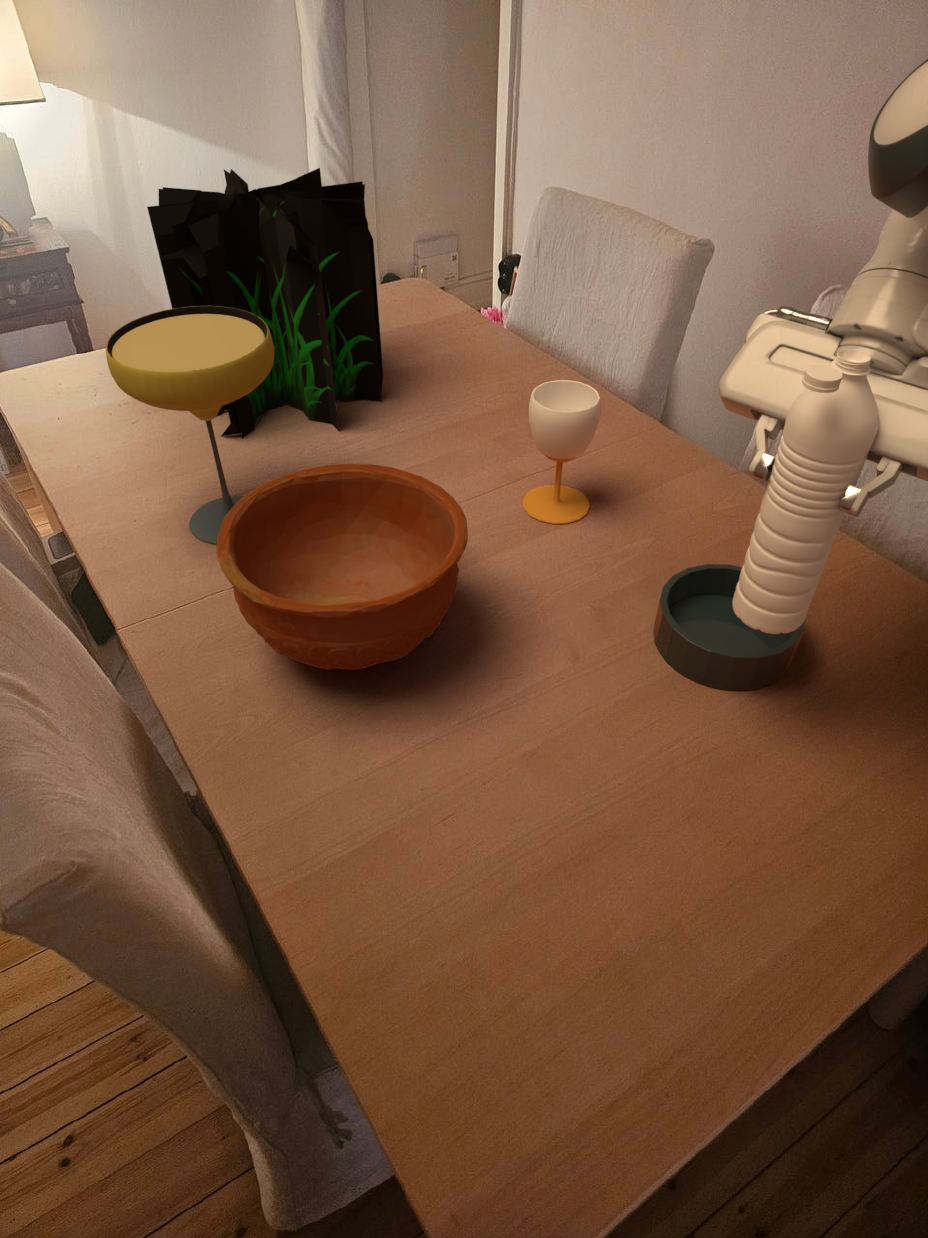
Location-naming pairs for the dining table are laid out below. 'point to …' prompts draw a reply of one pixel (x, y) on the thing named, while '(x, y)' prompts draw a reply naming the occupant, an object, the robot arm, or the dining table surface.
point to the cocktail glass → (193, 374)
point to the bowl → (344, 562)
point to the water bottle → (807, 493)
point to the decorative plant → (282, 285)
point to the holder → (717, 633)
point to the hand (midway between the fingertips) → (801, 494)
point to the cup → (561, 444)
